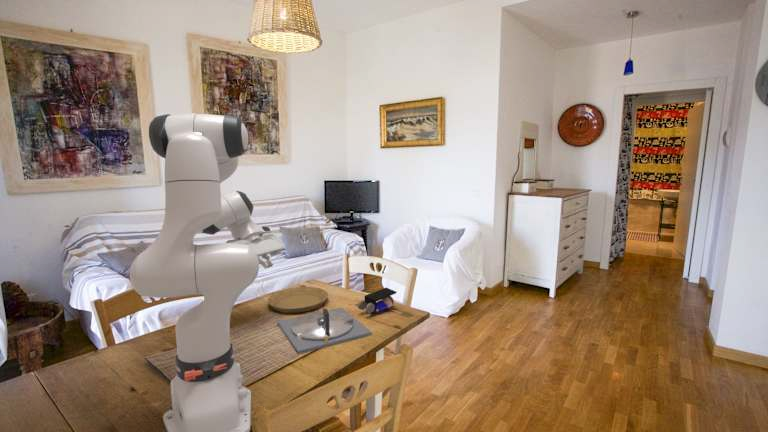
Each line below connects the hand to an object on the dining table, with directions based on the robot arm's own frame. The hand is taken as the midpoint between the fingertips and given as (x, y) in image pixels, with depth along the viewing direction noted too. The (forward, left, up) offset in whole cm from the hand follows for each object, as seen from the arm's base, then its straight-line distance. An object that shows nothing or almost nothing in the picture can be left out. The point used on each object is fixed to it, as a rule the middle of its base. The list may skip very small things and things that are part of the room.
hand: (269, 266), depth 129 cm
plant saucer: (+17, -14, -22) cm, 31 cm away
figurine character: (-7, -38, -22) cm, 45 cm away
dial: (-11, -14, -20) cm, 28 cm away
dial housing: (-11, -14, -22) cm, 28 cm away
